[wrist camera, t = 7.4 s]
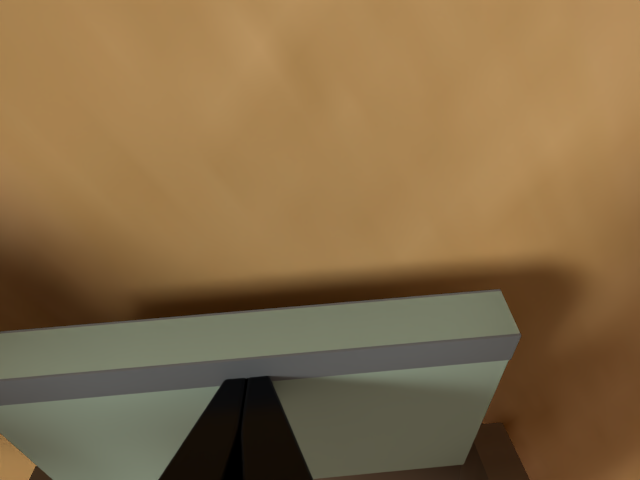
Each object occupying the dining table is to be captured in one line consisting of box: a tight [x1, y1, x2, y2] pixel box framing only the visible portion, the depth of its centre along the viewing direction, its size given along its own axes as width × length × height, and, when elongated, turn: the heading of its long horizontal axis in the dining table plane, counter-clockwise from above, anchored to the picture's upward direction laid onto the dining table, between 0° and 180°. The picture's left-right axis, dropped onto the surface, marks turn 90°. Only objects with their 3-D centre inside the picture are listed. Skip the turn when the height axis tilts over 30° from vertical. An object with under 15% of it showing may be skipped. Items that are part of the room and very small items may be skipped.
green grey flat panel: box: [0, 289, 521, 480], centre depth 11 cm, size 1×10×6 cm
